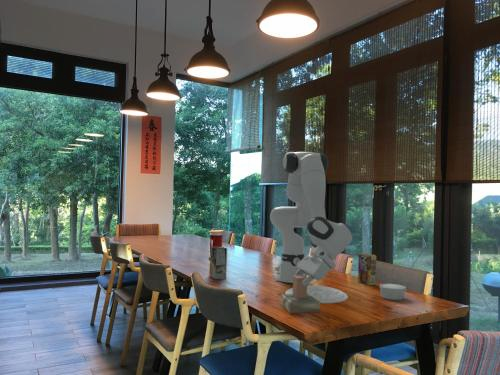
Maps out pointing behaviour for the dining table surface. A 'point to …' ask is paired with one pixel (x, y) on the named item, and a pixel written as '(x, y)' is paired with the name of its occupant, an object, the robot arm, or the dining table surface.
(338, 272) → the dining table surface
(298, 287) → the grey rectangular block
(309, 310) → the base block
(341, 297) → the ceiling medallion
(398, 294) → the ramekin
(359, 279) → the candy box
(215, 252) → the coffee box
